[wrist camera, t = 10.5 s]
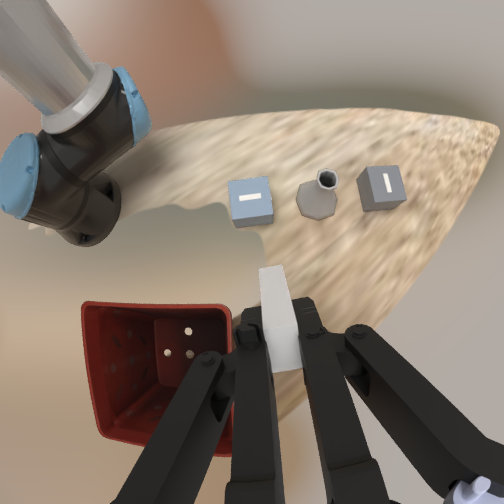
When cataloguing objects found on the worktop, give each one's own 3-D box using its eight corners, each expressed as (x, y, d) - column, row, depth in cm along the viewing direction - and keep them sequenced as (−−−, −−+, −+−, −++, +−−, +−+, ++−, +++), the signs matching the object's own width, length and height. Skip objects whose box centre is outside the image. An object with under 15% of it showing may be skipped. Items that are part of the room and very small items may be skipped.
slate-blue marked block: (236, 228, 48) (232, 219, 42) (232, 194, 48) (227, 181, 42) (273, 223, 47) (274, 213, 41) (268, 189, 48) (268, 175, 42)
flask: (294, 180, 48) (300, 155, 38) (335, 180, 48) (349, 156, 38) (296, 221, 47) (304, 204, 37) (338, 220, 47) (355, 204, 37)
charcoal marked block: (363, 212, 47) (375, 202, 41) (356, 179, 48) (366, 166, 41) (393, 209, 47) (408, 199, 40) (386, 177, 47) (399, 165, 41)
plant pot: (143, 399, 45) (98, 437, 28) (135, 297, 47) (79, 300, 30) (247, 406, 44) (237, 458, 27) (243, 297, 46) (230, 303, 29)
